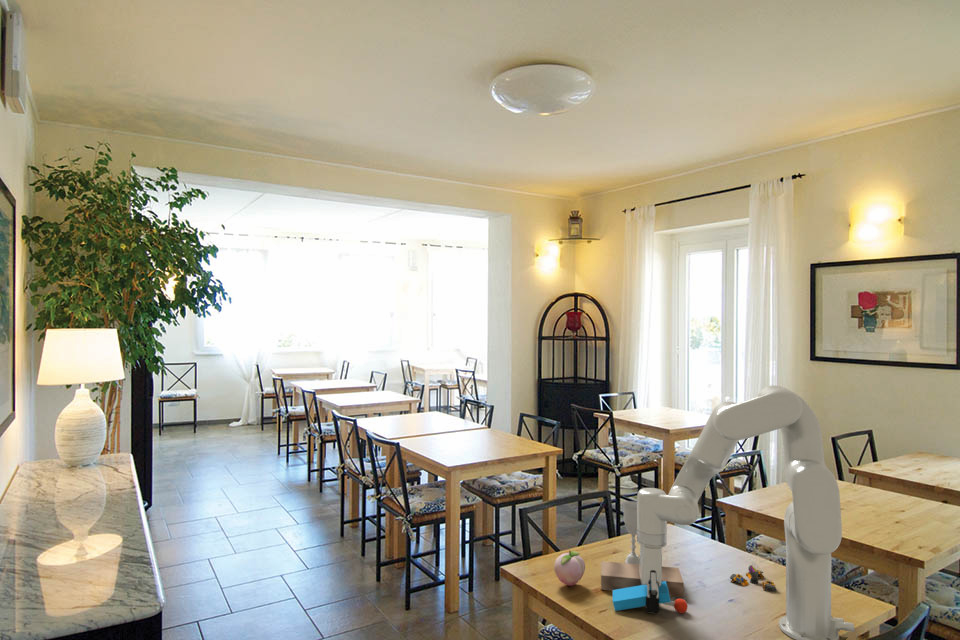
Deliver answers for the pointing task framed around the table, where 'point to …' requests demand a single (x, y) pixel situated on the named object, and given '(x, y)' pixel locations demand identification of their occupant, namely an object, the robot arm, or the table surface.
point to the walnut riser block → (637, 577)
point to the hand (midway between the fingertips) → (651, 604)
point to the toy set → (753, 579)
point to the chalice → (631, 529)
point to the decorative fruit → (569, 568)
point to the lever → (644, 598)
